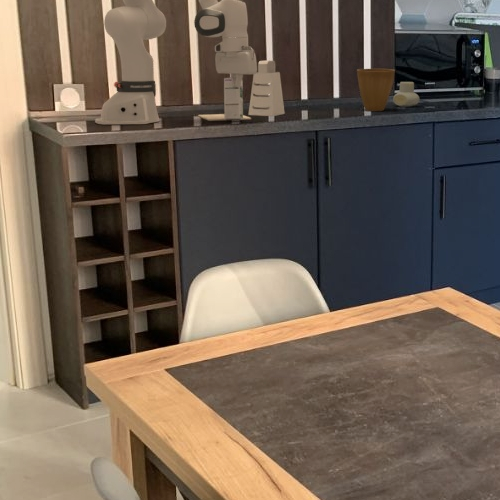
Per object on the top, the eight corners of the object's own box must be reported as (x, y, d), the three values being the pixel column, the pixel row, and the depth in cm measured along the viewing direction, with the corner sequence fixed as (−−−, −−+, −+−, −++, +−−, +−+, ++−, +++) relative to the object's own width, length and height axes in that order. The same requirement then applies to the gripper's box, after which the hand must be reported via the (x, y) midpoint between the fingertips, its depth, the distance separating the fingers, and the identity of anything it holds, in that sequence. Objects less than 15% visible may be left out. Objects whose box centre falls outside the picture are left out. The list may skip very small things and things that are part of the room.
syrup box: (240, 118, 291) (240, 76, 290) (223, 119, 292) (223, 77, 291) (243, 120, 297) (243, 79, 296) (227, 120, 298) (227, 79, 297)
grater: (248, 114, 317) (248, 61, 312) (260, 112, 326) (260, 60, 321) (273, 116, 312) (273, 61, 307) (284, 113, 321) (285, 60, 316)
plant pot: (349, 109, 338) (350, 69, 334) (382, 108, 343) (384, 68, 339) (365, 112, 325) (367, 70, 320) (399, 111, 329) (401, 70, 325)
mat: (208, 120, 297) (208, 119, 297) (198, 116, 312) (198, 114, 312) (251, 119, 301) (251, 117, 301) (239, 114, 316) (239, 113, 316)
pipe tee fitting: (422, 106, 349) (423, 82, 346) (410, 107, 344) (411, 83, 341) (401, 105, 357) (402, 81, 354) (389, 106, 351) (390, 82, 349)
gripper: (260, 45, 279) (261, 87, 283) (226, 46, 295) (227, 85, 299) (245, 46, 276) (246, 88, 279) (211, 46, 292) (213, 86, 295)
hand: (236, 87), depth 289 cm, fingers closed
